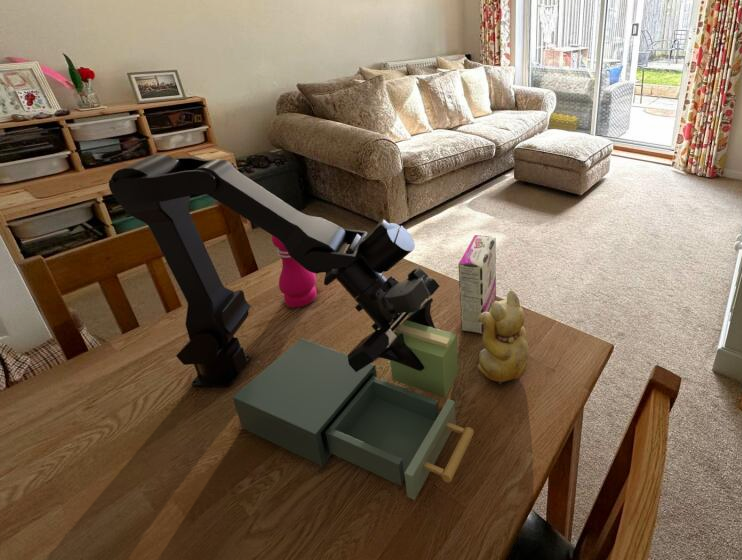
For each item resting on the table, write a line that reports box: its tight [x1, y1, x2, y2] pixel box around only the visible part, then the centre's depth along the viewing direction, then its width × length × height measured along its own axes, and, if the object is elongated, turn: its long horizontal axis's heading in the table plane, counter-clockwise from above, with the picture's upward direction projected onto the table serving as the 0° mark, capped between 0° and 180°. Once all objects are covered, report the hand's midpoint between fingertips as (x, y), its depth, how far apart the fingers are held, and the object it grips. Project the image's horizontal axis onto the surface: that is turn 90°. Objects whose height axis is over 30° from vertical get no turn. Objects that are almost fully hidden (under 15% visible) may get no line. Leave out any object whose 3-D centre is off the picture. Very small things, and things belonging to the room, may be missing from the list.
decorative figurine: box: [477, 289, 530, 385], centre depth 70 cm, size 10×8×15 cm
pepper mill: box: [271, 235, 318, 308], centre depth 86 cm, size 7×7×20 cm
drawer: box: [325, 376, 475, 501], centre depth 58 cm, size 19×11×5 cm, turn 70°
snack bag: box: [389, 319, 459, 399], centre depth 67 cm, size 5×10×10 cm, turn 71°
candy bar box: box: [458, 234, 497, 335], centre depth 83 cm, size 11×5×16 cm, turn 168°
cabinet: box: [232, 338, 378, 467], centre depth 63 cm, size 16×13×7 cm
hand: (431, 357), depth 67 cm, fingers closed on snack bag, 5 cm apart
